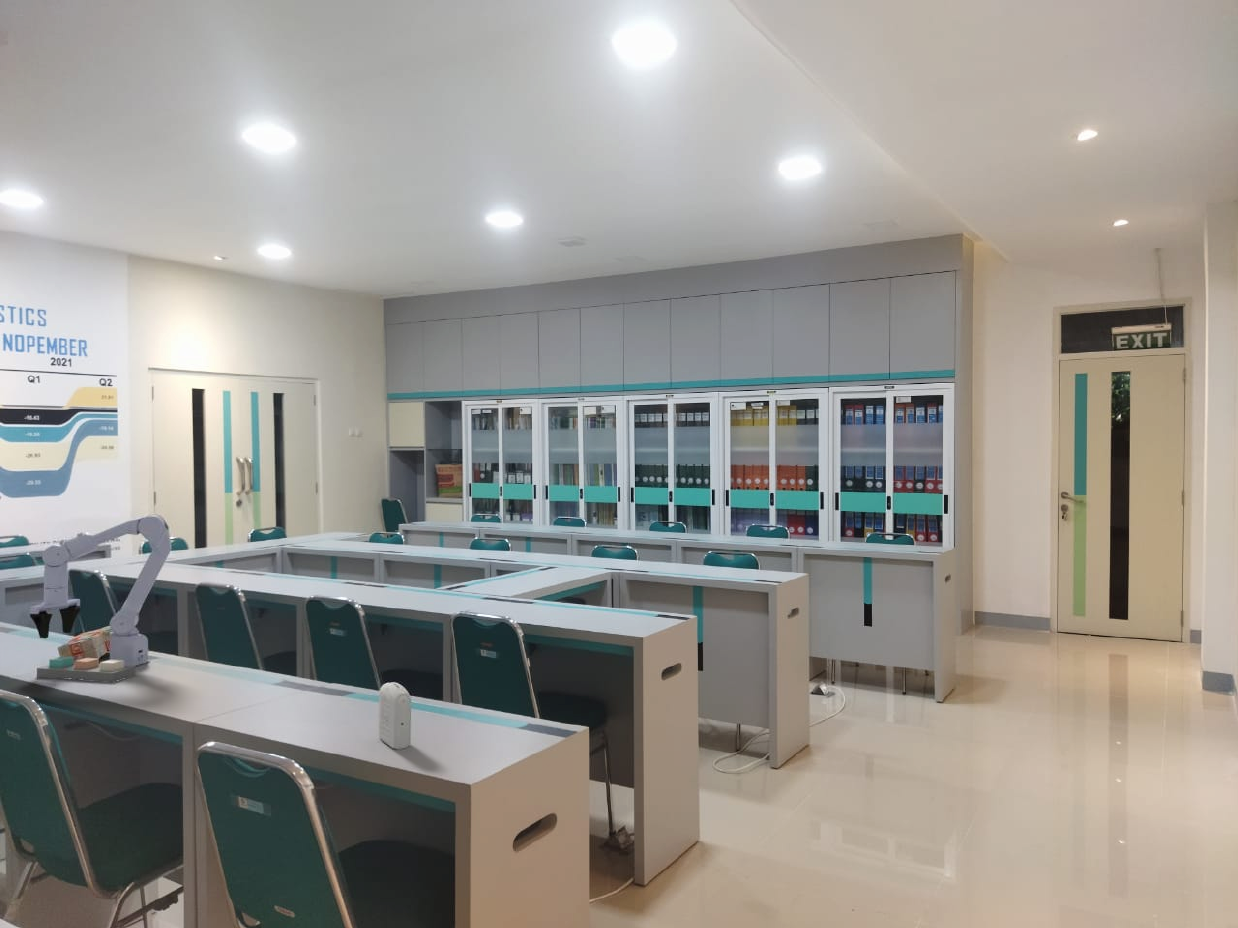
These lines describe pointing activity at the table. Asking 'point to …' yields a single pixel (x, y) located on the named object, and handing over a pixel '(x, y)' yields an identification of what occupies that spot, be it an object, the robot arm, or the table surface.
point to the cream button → (111, 665)
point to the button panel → (86, 673)
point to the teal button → (61, 662)
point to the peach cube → (86, 663)
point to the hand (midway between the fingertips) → (55, 635)
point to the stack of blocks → (87, 645)
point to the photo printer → (395, 715)
